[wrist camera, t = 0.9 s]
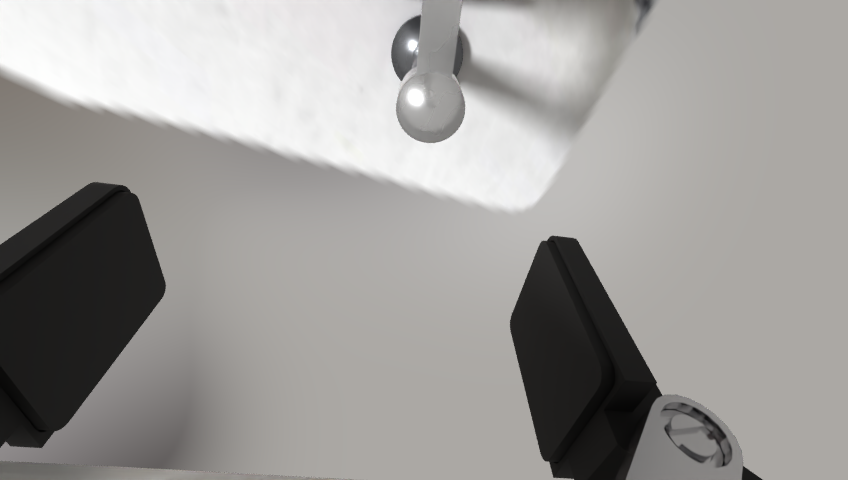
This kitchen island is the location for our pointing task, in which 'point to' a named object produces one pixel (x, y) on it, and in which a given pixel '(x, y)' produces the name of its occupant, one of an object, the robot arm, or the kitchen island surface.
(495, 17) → the kitchen island surface
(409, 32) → the post
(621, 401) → the robot arm
